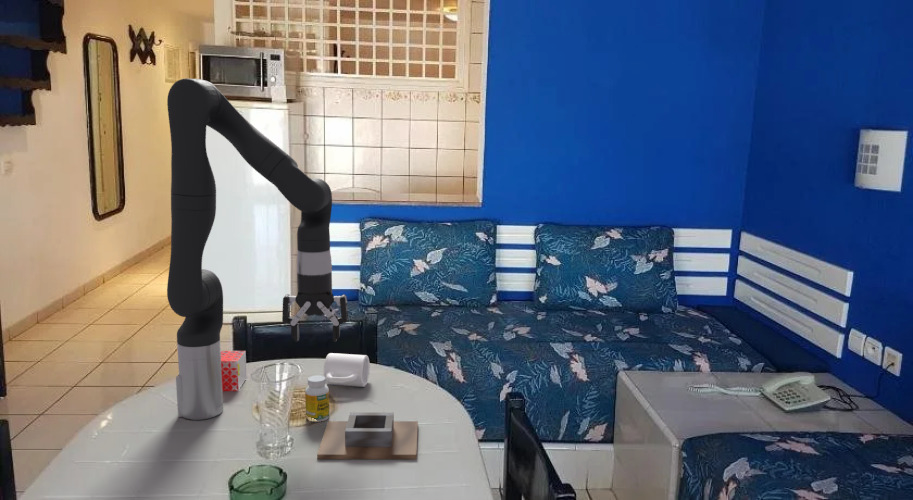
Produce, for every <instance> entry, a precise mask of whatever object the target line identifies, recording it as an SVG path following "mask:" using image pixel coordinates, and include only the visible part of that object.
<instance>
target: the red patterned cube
mask: <svg viewBox="0 0 913 500" xmlns="http://www.w3.org/2000/svg"><path fill="white" fill-rule="evenodd" d="M221 369H222V391H223V392H240V390H241V389H240V387H241V385H242V384H243V382H244V380H245V379H247V378H248V377H247V375H248V374H247V356H246V350H221ZM243 385H244V384H243ZM241 388H242V387H241ZM239 389H240V390H239Z"/></svg>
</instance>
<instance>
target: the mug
mask: <svg viewBox="0 0 913 500" xmlns="http://www.w3.org/2000/svg"><path fill="white" fill-rule="evenodd" d="M370 368H371V365H370V359H369V356H368V355H367V354H352V353H350V354H349V353H337V352H336V353H335V352H334V353H333V352H329V353H328V354H327V355H326V357H325V360H324V364H323V376H324V377H325V378H326V384H325V385H332V386H334V385H335V386H345V387H347V386H349V387H359V388H362V387H363V388H364V387H366V386H367V384H368V381H369V377H370Z"/></svg>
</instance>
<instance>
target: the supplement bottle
mask: <svg viewBox="0 0 913 500" xmlns="http://www.w3.org/2000/svg"><path fill="white" fill-rule="evenodd" d="M304 395H305V397H304V399H305V416H306V415H307V416H308V417H311V418H314V419H316V420H317V421H319V422H318V423H322V422H325V421H327V420H328V419H329V417H330V389H329V386H327V384H326V378H325V377H324V375H316V374H315V375H311V376H309V377H308V378H307V387H306V388H305V390H304ZM321 421H322V422H321Z"/></svg>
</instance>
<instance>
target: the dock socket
mask: <svg viewBox="0 0 913 500" xmlns="http://www.w3.org/2000/svg"><path fill="white" fill-rule="evenodd" d="M394 415H395V413H394V412H355V411H354V412H353V411H352V412H349V415H348V419H347V420H335V421H334V420H328V421H327V424H326V427H325V430H324V432H323V437H322V439H321V441H320V445H319V448H318V451H317V454H316V460H417V455H418V454H417V451H418V429H419V428H418V426H419V422H418V421H416V420H415V421H411V420H410V421H409V420H406V421H405V420H404V421H403V420H401V421H400V420H399V421H398V420H394V419H395V418H394Z"/></svg>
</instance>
